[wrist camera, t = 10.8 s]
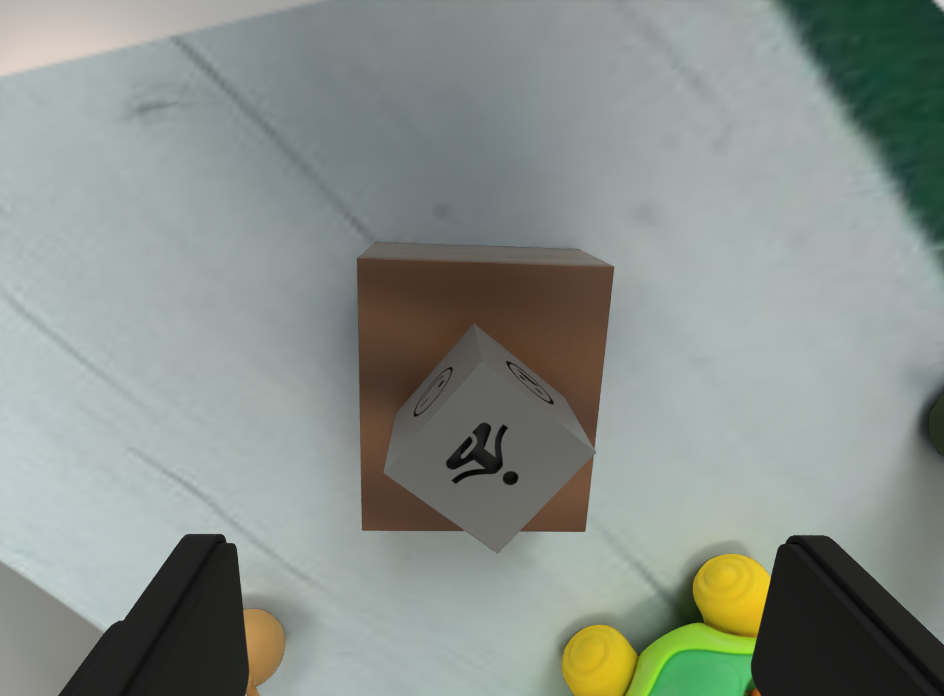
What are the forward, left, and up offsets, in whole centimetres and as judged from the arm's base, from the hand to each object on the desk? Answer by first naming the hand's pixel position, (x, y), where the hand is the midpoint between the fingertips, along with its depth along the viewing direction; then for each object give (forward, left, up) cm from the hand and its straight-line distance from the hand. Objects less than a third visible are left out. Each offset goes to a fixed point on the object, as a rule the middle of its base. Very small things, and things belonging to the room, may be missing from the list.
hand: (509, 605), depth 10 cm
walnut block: (+2, 0, -20) cm, 20 cm away
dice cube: (+2, 0, -14) cm, 14 cm away
